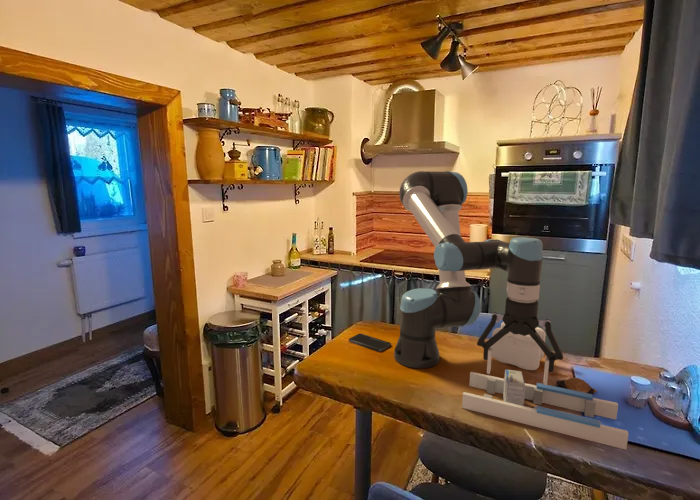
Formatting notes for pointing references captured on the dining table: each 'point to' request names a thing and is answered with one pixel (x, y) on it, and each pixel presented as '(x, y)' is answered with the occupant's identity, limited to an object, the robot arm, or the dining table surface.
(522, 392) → the medicine box
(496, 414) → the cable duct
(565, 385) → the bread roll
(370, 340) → the phone
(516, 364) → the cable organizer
